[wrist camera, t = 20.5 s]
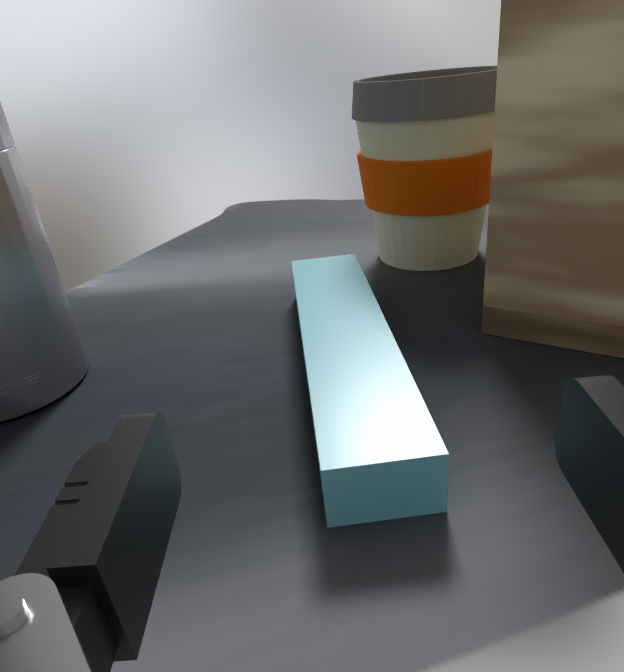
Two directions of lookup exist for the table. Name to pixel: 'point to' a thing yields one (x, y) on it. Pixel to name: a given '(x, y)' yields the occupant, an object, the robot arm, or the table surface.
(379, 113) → the reusable coffee cup
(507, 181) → the brown tall stepped block
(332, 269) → the long light blue beam
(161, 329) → the table surface
